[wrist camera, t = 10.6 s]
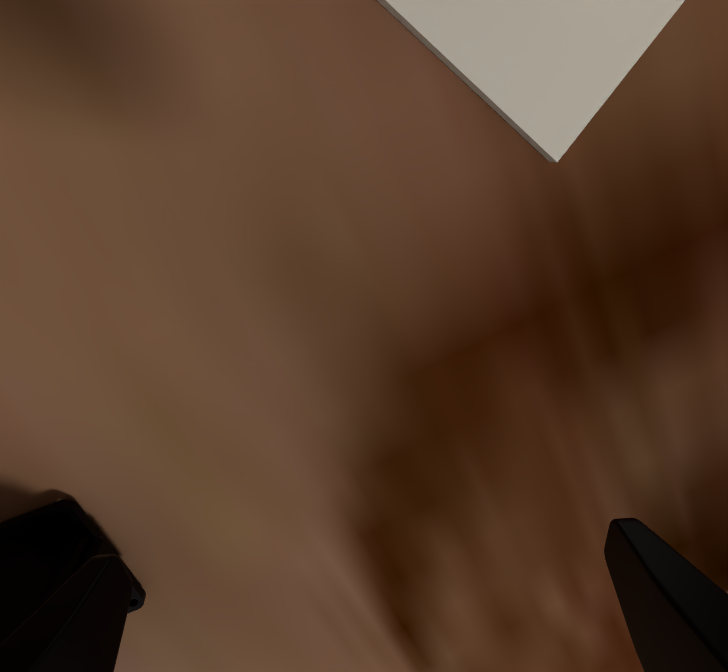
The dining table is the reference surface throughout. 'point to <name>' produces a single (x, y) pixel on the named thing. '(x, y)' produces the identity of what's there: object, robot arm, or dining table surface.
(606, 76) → the tile
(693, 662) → the robot arm
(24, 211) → the dining table surface
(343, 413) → the dining table surface
